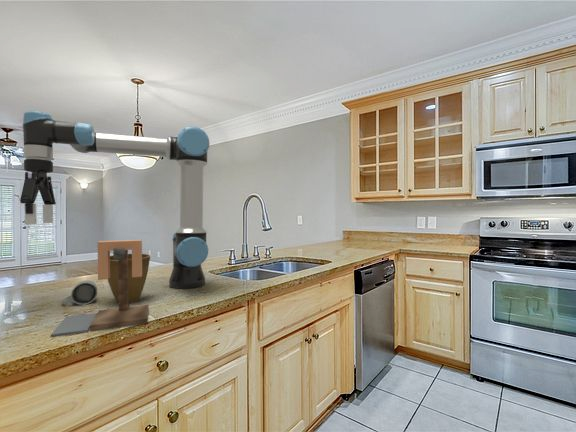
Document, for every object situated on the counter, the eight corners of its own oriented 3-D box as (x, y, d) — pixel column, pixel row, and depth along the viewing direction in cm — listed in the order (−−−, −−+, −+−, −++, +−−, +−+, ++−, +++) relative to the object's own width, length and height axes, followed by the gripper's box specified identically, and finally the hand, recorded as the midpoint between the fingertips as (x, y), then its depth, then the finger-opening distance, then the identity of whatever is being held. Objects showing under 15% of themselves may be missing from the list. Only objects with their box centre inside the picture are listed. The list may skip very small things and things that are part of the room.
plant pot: (97, 301, 110) (96, 256, 110) (139, 293, 122) (139, 252, 122) (114, 309, 101) (113, 260, 101) (158, 299, 112) (157, 255, 112)
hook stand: (148, 309, 101) (147, 242, 101) (147, 324, 88) (146, 247, 87) (98, 315, 96) (98, 244, 95) (89, 332, 82) (88, 250, 82)
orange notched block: (142, 274, 94) (141, 239, 94) (141, 276, 90) (141, 240, 90) (100, 277, 90) (99, 241, 90) (97, 279, 86) (97, 242, 86)
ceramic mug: (97, 297, 115) (96, 277, 115) (97, 303, 109) (97, 281, 108) (62, 302, 110) (61, 281, 110) (60, 308, 103) (59, 285, 103)
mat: (97, 314, 96) (97, 312, 96) (87, 332, 82) (87, 329, 82) (66, 318, 93) (66, 316, 93) (50, 336, 79) (50, 334, 79)
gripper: (40, 164, 113) (41, 222, 114) (4, 152, 90) (6, 225, 90) (65, 165, 116) (66, 222, 116) (36, 153, 92) (37, 225, 93)
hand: (39, 223), depth 103 cm, fingers open, 13 cm apart
